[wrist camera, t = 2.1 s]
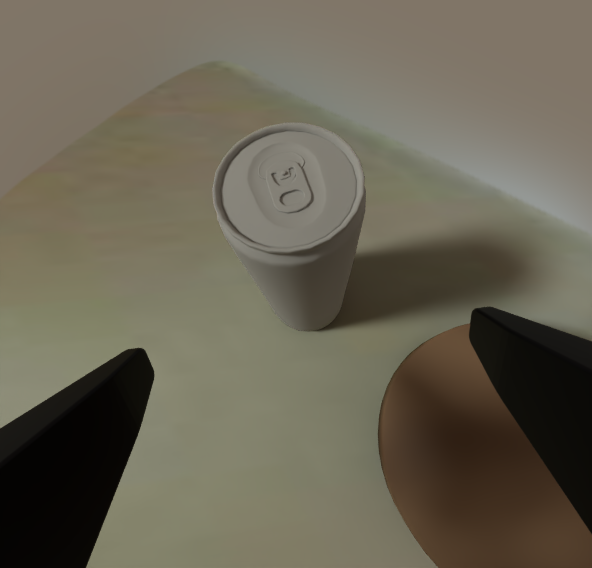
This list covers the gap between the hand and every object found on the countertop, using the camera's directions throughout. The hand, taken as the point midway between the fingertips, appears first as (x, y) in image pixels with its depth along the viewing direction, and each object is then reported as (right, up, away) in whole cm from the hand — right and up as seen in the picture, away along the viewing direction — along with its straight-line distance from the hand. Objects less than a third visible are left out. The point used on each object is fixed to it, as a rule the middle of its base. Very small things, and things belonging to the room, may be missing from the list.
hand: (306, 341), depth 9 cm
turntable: (+10, -6, +7) cm, 14 cm away
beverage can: (+1, +1, +12) cm, 12 cm away
